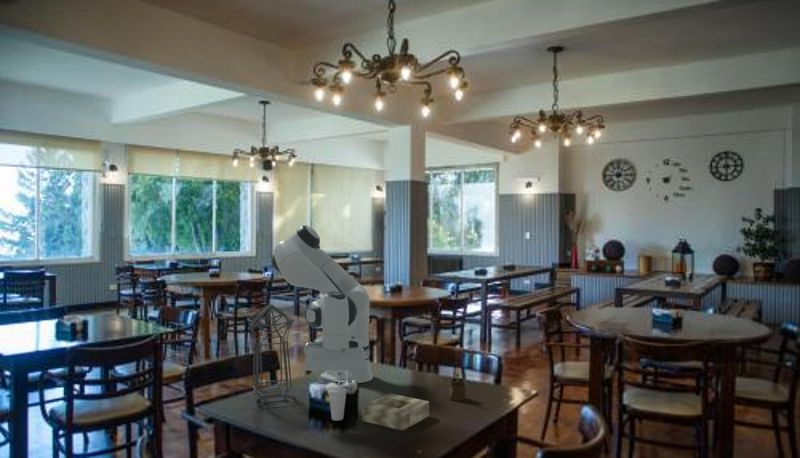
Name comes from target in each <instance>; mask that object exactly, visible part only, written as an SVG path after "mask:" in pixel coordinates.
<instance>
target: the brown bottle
mask: <svg viewBox="0 0 800 458" xmlns="http://www.w3.org/2000/svg"><path fill="white" fill-rule="evenodd" d="M461 371H462V370H461V368H458V367H456V368H455V369H454V375H455V378H451V379H450V384H449V389H448V390H449V399H450V401H453V402H455V401H456V402H462V401H464V400H465V399H466V395H467V394H466V385H465V383H466V382H465V380H464V379H463V378H461ZM465 401H466V400H465Z"/></svg>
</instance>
